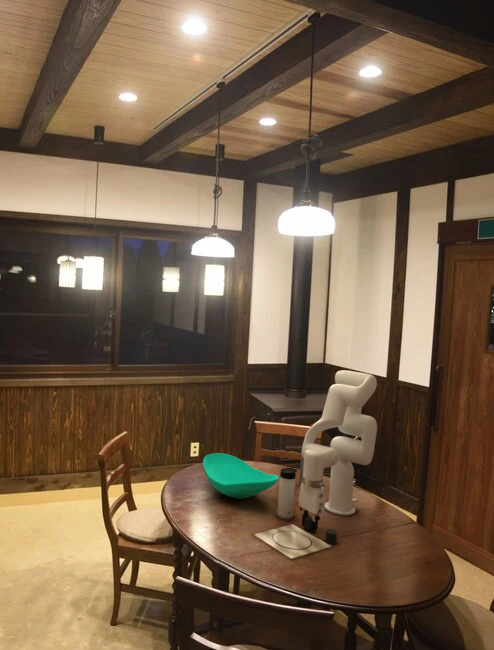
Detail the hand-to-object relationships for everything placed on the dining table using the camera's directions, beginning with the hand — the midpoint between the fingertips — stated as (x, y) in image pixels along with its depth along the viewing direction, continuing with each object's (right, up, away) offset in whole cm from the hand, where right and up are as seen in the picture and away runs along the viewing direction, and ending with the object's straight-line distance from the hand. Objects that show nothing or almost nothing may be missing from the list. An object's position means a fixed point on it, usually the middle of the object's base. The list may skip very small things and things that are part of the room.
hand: (309, 527), depth 210 cm
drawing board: (-9, -1, -11) cm, 14 cm away
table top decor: (-25, +2, +30) cm, 39 cm away
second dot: (+6, -2, -10) cm, 11 cm away
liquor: (+11, +1, +46) cm, 48 cm away
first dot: (0, 0, 0) cm, 0 cm away
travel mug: (-7, 0, +11) cm, 13 cm away
